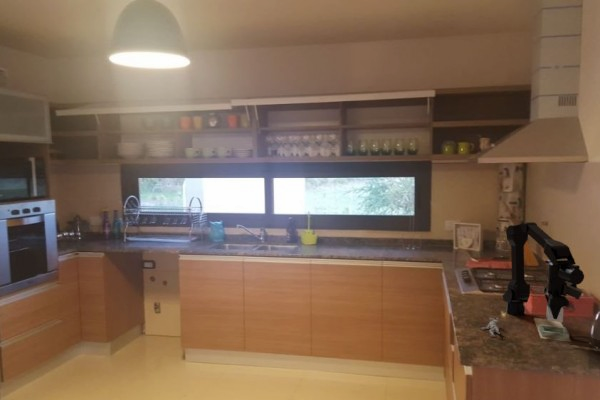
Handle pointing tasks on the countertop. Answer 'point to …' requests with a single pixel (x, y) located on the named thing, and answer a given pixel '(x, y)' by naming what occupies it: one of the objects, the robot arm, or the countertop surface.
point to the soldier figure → (492, 326)
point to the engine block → (550, 316)
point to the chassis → (551, 330)
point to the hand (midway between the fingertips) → (554, 317)
